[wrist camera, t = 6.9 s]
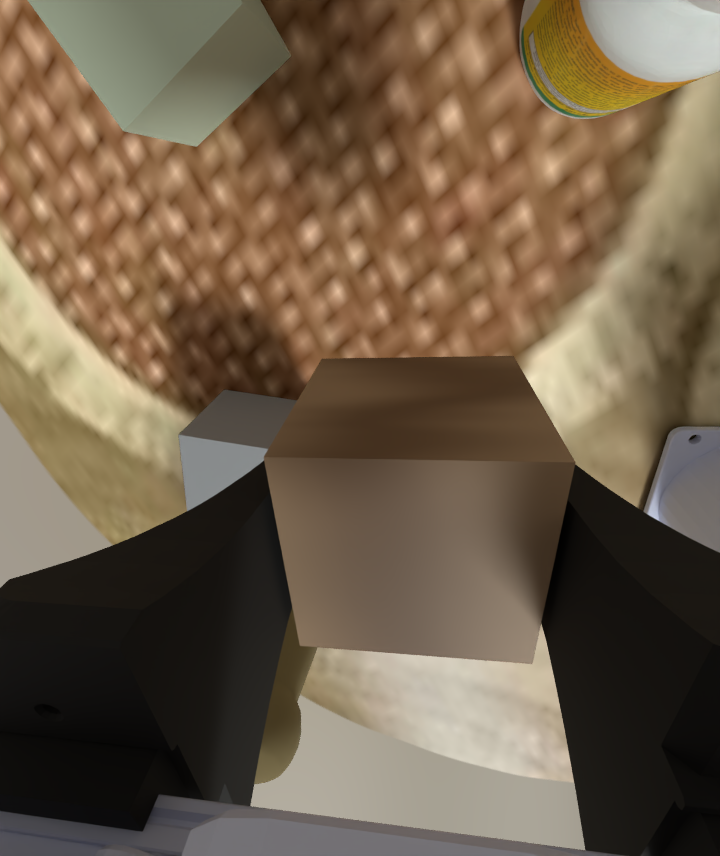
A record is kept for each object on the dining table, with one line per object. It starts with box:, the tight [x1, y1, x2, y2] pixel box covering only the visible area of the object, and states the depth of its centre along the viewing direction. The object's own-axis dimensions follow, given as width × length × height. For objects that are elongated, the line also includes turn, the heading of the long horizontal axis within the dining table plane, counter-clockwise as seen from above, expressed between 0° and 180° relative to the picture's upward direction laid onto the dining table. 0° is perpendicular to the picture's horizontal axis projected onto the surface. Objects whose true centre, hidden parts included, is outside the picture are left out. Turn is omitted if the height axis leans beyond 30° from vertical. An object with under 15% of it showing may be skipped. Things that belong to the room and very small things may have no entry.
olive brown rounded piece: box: [254, 608, 317, 784], centre depth 24 cm, size 6×6×11 cm
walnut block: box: [264, 356, 575, 664], centre depth 10 cm, size 5×5×5 cm
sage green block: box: [28, 0, 292, 147], centre depth 14 cm, size 5×5×5 cm
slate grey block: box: [179, 390, 297, 511], centre depth 22 cm, size 5×5×5 cm
